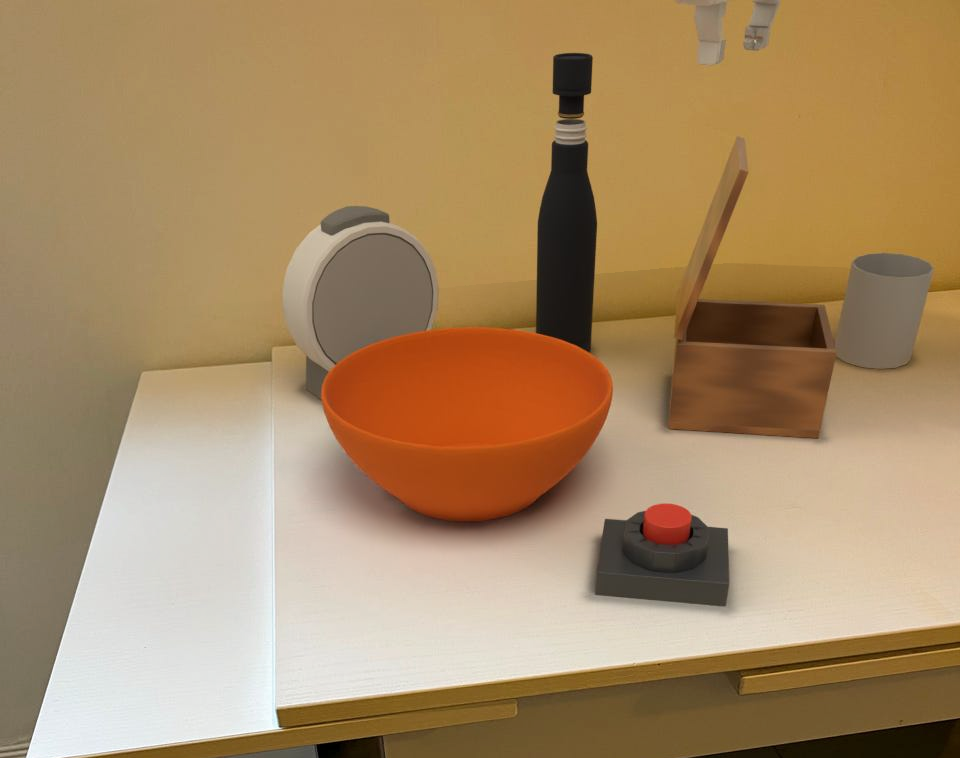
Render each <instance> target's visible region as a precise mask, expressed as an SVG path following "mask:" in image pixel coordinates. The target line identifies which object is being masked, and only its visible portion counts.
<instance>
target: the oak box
mask: <svg viewBox="0 0 960 758" xmlns="http://www.w3.org/2000/svg"><path fill="white" fill-rule="evenodd" d="M836 353H837V352H836V348H835V340H834V337H833V333H832V329H831V325H830V321H829V317H828V313H827V309H826V305H825V304H819V303H818V304H815V303H797V302H795V303H793V302H773V301H772V302H771V301H769V302H768V301H748V300H729V299H727V300H726V299H725V300H724V299H703V298H699V299H698V301H697V304H696V306H695V309H694V311H693V314H692V316H691V319H690V321H689V324H688V326H687V329H686V331H685V334H684V336H683V339H682V340H679V339H676V338H675V345H674V353H673V354H674V355H673V364H672V372H671V381H670V382H671V385H670V395H669V397H670V398H669V411H668V425H667V428H668V429H669V430H684V431H696V432H697V431H698V432H699V431H700V432H712V433H713V432H715V433H729V434H746V435H760V436H775V437H777V436H778V437H791V438H793V437H794V438H808V439H819V438H820V433H821V429H822V424H823V419H824V414H825V409H826V405H827V400H828V395H829V391H830V386H831V381H832V376H833V372H834V367H835V362H836V359H837V357H836Z"/></svg>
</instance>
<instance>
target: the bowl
mask: <svg viewBox="0 0 960 758" xmlns="http://www.w3.org/2000/svg"><path fill="white" fill-rule="evenodd" d="M613 395H614V383H613V379H612V376H611V373H610V372H609V369H608V368H607V367H606V366H605V364H604V363H602V362H601V360H599V359H598V358H597V357H596V356H594V354H592V353H591V352H590V353H589V352H587V351H585V350H583V349H582V348H580V347H578V346H576V345H573V344H571V343H568V342H566V341H563V340H560V339H557V338H553V337H550V336H546V335H542V334H537V333H536V332H533V331H526V330H520V329H512V328H504V327H503V328H502V327H486V326H485V327H483V326H473V327H472V326H471V327H470V326H468V327H467V326H466V327H445V328H437V329H432V330H427V331H420V332H415V333H410V334H405V335H401V336H396V337H392V338H389V339H386V340H382V341H379V342H376V343H373V344H371V345H368V346H366V347H364V348H362V349H359V350H357V351H355V352H354V353H352V354H350V355H348V356H347V357H345V358H344V359H342V360H341V361H340V362H339V363H337V364H336V365H335V366H334V367H333V368H332V369H331V370H330V372H329V373H328V374H327V375H326V377H325V379H324V382H323V385H322V389H321V399H320V401H321V405H322V410H323V414H324V416H325V419H326V422H327V423H328V425H329V428H330V430H331V432H332V434H333V436H334V437H335V439H336V441H337V442H338V444H339V445H340V446H341V448H342V449H343V451H344V452H345V454H346V455H347V456H348V457H349V459H350V460H351V461H352V462H353V463H354V465H356V467H357V468H359V470H361V471H362V472H363V473H364V474H365V475H366V476H367V477H368V478H370V480H372V481H373V482H374V483H375V484H377V485H378V486H379V487H381V488H382V489H383V490H385V491H386V492H388V493H389V494H391V495H392V496H394V497H395V498H397V499H398V500H399V501H401V502H402V503H403V504H404V505H405V506H406V507H408V508H409V509H411V510H413V512H414V511H415V512H417V513H419V514H421V515H424V516H426V517H430V518H434V519H439V520H443V521H449V522H450V521H451V522H483V521H491V520H496V519H501V518H504V517H507V516H511V515H513V514H516V513H518V512H520V511H523V510H525V509H527V508H528V507H529V506H530V505H533V503H535V502H536V501H537V500H538V499H539V498H540V497H541V496H542V495H543V494H546V492H548V491H549V490H550V489H552V488H553V487H554V486H556V485H557V484H558V483H559V482H560V481H561V480H563V479H564V478H565V477H566V476H567V475H569V473H570V472H571V471H572V470H574V468H575V467H576V466H578V464H579V462H580V461H582V459H583V458H584V457H585V456H586V454H587V453H588V452H589V451H590V449H591V448H592V446H593V444H594V443H595V442H596V441H597V439H598V437H599V435H600V433H601V431H602V430H603V428H604V425H605V423H606V420H607V418H608V416H609V415H608V414H609V412H610V408H611V406H612V402H613Z"/></svg>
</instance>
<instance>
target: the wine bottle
mask: <svg viewBox="0 0 960 758" xmlns="http://www.w3.org/2000/svg"><path fill="white" fill-rule="evenodd" d="M593 59H594V57H593V55H592V54H590V53H584V52H583V53H582V52H565V53H564V52H563V53H558V54H555V55H553V56H552V95H555V96H558V111H557V116H558V117H559V118H561V119H559V120H556V121H555V126H554V127H553V128H554V129H553V130H554V131H555V133H554V134H553V137H554V139H555V140H553V141H552V142H551V159H550V160H551V161H550V162H551V163H550V165H551V166H550V173H549V176H548V178H547V181H546V185H545V188H544V189H543V190H544V191H543V193H542V198H541V202H540V206H539V211H538V218H537V232H536V233H537V234H536V235H537V237H536V238H537V241H536V243H537V244H536V294H535V295H536V298H535V303H536V304H535V313H536V314H535V333H537V334H542V335H546V336H550V337H553V338H557V339H560V340H563V341H566V342H568V343H571V344H573V345H576V346H578V347H580V348H582V349H583V350H585V351H587V352H589V353H590V354H591V351H592V335H593V334H592V333H593V312H594V295H595V294H594V293H595V275H596V274H595V273H596V257H597V256H596V255H597V234H598V216H597V208H596V201H595V196H594V192H593V189H592V184H591V179H590V176H589V172H588V161H589V160H588V159H589V142H588V141H587V140H586V138H587V133H586V131H587V129H588V127H587V125H586V120H583V119H581V118H583V117H584V116H585V110H584V107H585V96H587V95H591V93H592V81H593V63H594V61H593Z"/></svg>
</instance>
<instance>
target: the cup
mask: <svg viewBox="0 0 960 758" xmlns="http://www.w3.org/2000/svg"><path fill="white" fill-rule="evenodd" d="M850 263H851V264H850V268H849V274H848V278H847V284H846V287H845V292H844V298H843V302H842V307H841V312H840V316H839V321H838V326H837V331H836V335H835V340H834V344H835V348H836V352H837V353H836V358H838V359H840V360H841V361H843V362H845V363H846V364H848V365H849V364H850V365H853V366H857V367H861V368H865V369H876V370H885V369H896V368H900V367H902V366H905V365H907V364H908V363H909V362H910V360H912V355H913V352H914V349H915V348H914V347H915V345H916V340H917V336H918V333H919V329H920V325H921V321H922V317H923V313H924V309H925V305H926V303H927V298H928V293H929V291H930V287H931V283H932V278H933V275H934V271H935V268H934V266H933V265H932V263H931V262H929V261H927V260H924V259H922V258H920V257H916V256H912V255H907V254H904V253H894V252H893V253H892V252H876V253H875V252H873V253H865V254H862V255H858V256H856V257H854V259H853V260H851V262H850Z"/></svg>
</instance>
